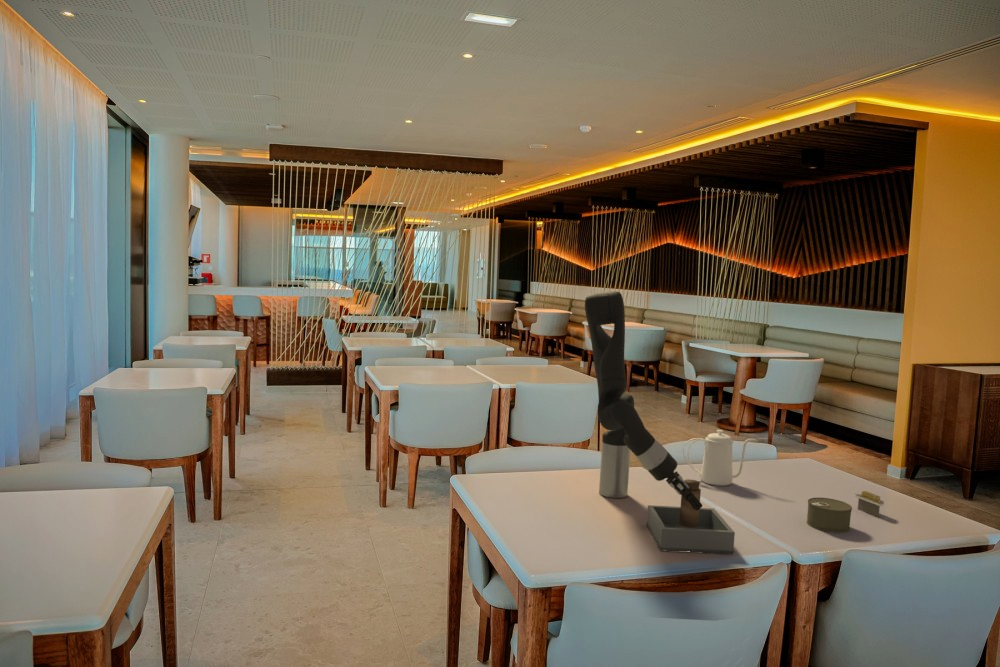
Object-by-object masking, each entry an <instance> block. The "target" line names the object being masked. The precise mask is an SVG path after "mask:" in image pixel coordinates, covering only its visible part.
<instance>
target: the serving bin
mask: <svg viewBox="0 0 1000 667" xmlns="http://www.w3.org/2000/svg"><path fill="white" fill-rule="evenodd" d="M680 507H681V506H669V505H650V504H649V505H647V513H646V515H647V516H646V527H647V529H648V531H649V533H650V535H651V536H652V539H653V540H654V542H655V543H657V544H656V546H657V545H658V546H657V548H658V549H659V551H660V550H666V551H665V552H669V551H690V552H702V553H701V554H710V553H713V555H715V554H716V555H730V554H733V555H734V544H735V533H736V532H735V531H734V529H733V528H732V527H731V526H730V525H729V524H728V522H726V521H725V519H724V518H723V517H722V516H721V515H720V514H719V512H717V510H716V509H715V508H711V507H710V508H709V507H701V508H700V509H699V521H698V527H694V528H691V527H685V526H682V525H680V524H679V521H680ZM690 552H689V553H690Z"/></svg>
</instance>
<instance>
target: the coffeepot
mask: <svg viewBox="0 0 1000 667" xmlns="http://www.w3.org/2000/svg"><path fill="white" fill-rule="evenodd" d="M723 432H724V431H723V429H716V432H713V433H712V432H711V433H709V434H707V436H706V437H705V439H704V438H701V437H695V438H690V439H689V440H687V441H686V442H685V443H684V446H683V450H682V453H683V458H684V460H685V462H686V463H687V465H688V466H689V467H690V468H691V469H692V470H694V471H695V472H697V473H699V476H700V480H701V481H702V483H705V484H708V485H711V486H718V487H719V486H720V487H725V486H730V485H731V484H732V483H733V479H735V478H739V476H740V475H741V474H742V470H743V465H744V458H745V452H746V451H745V450H746V446H747V444H748V443H749V442H759V441H758V439H756V438H748V439H746V440H745V441H744V442H743V445H742V451H741V457H740V462H739V467H738V472H737V473H736V474H735V475H734V474H733V444H734V441H733V440H732V437H731V436H730V435H729V434H725V433H723ZM693 440H694V441H693ZM690 441H693V442H691V444H690V446H689V447H688V450H687V458H686V455H685V446H686V444H688V443H689V442H690ZM698 441H702V442H703V441H704V451H703V458H702V465H701V470H700V471H699V469H697V468H695V466H694V465H693V464H692V461H691V460H690V457H689V456H690V452H689V451H690V449H691V446H692V445H693V444H694V443H695V442H698ZM687 459H688V460H687Z"/></svg>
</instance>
